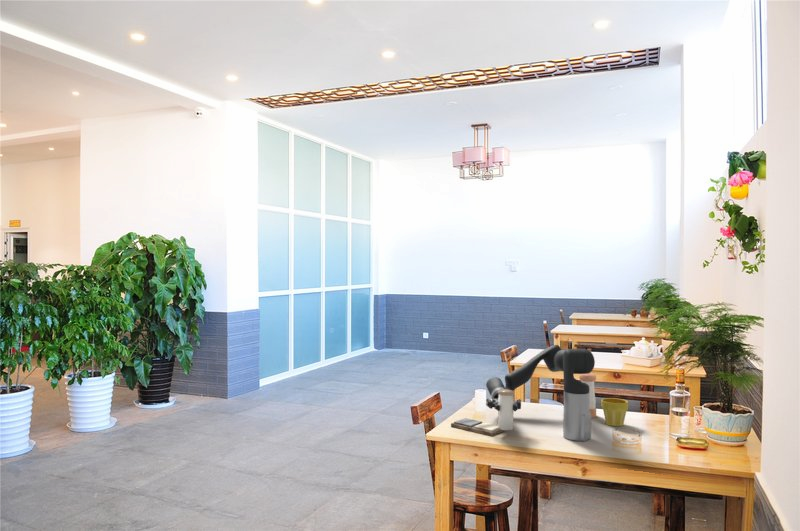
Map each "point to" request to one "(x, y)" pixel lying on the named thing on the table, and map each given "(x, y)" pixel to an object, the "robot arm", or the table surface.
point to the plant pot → (614, 411)
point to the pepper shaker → (590, 391)
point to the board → (477, 426)
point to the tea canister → (505, 409)
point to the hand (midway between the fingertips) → (506, 408)
